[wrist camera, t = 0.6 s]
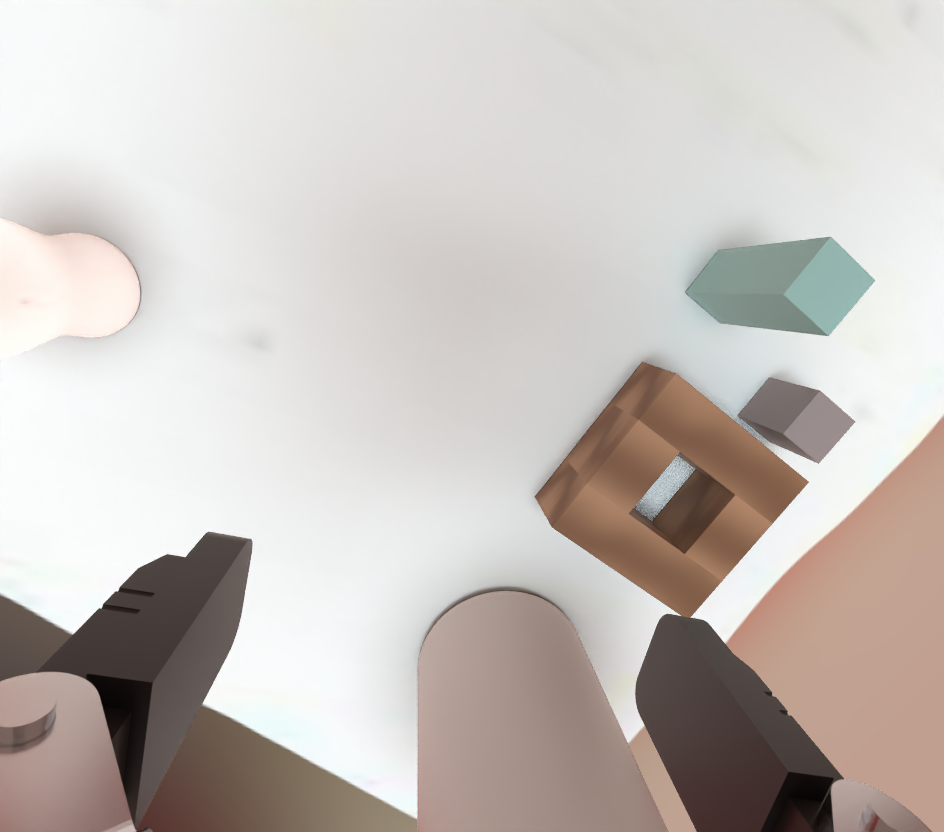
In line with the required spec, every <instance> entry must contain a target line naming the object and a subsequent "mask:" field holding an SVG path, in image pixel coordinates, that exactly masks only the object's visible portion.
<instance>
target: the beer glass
mask: <svg viewBox="0 0 944 832" xmlns="http://www.w3.org/2000/svg"><path fill="white" fill-rule="evenodd" d="M139 302H140V284H139V280H138V276H137V274H136V271H135V269H134V267H133V266H132V264H131V262H130V261H129V260H128V258H127V257H126V256H125V255H124V254H123V253H122V252H121V251H120V250H119V249H118V248H117V247H115V246H114V245H112V244H111V243H109V242H108V241H106V240H104V239H102V238H99V237H97V236H94V235H90V234H85V233H64V234H57V235H51V236H48V235H43V234H41V233H38V232H35V231H33V230H30V229H28V228H26V227H23V226H21V225H19V224H16V223H14V222H11V221H9V220H6V219H4V218H1V217H0V361H1V360H4V359H7V358H10V357H12V356H15V355H18V354H21V353H23V352H26V351H28V350H30V349H33V348H35V347H37V346H39V345H42V344H44V343H46V342H48V341H50V340H52V339H55V338H57V337H60V336H63V335H71V336H78V337H87V338H96V337H104V336H108V335H111V334H114V333H116V332H118V331H119V330H121V329H122V328H124V327H125V326H126V325H127V324H128V323H129V322H130V321H131V320H132V319H133V317H134V316H135V314H136V312H137V309H138V306H139Z"/></svg>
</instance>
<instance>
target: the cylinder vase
mask: <svg viewBox="0 0 944 832" xmlns="http://www.w3.org/2000/svg"><path fill="white" fill-rule="evenodd" d="M418 832H668V830H667V828H666V825H665V823H664V821H663V819H662V817H661V815H660V813H659V810H658V808H657V806H656V804H655V802H654V800H653V797H652V795H651V793H650V791H649V789H648V787H647V784H646V782H645V780H644V778H643V775H642V773H641V771H640V769H639V767H638V765H637V763H636V760H635V758H634V756H633V754H632V752H631V750H630V747H629V745H628V743H627V741H626V739H625V736H624V734H623V732H622V730H621V728H620V726H619V723H618V721H617V719H616V717H615V715H614V713H613V710H612V708H611V706H610V704H609V702H608V699H607V697H606V695H605V693H604V691H603V689H602V686H601V684H600V682H599V680H598V678H597V676H596V673H595V671H594V669H593V667H592V665H591V663H590V660H589V658H588V656H587V654H586V652H585V650H584V647H583V645H582V643H581V641H580V639H579V637H578V634H577V632H576V630H575V628H574V627H573V625H572V624H571V622H570V621H569V619H568V618H567V617H566V616H565V615H564V614H563V613H562V612H561V611H560V610H559V609H558V608H556V607H555V606H554V605H552V604H551V603H549V602H547V601H546V600H544V599H542V598H539V597H537V596H534V595H531V594H527V593H523V592H516V591H496V592H489V593H485V594H481V595H478V596H475V597H472V598H470V599H467V600H465V601H463V602H461V603H460V604H458V605H456V606H455V607H453V608H452V609H450V610H449V611H448V612H447V613H446V614H444V615H443V616H442V617H441V618H440V619H439V620H438V621H437V623H436V624H435V625H434V626H433V628H432V629H431V630H430V632H429V634H428V635H427V637H426V639H425V641H424V643H423V646H422V649H421V652H420V656H419V661H418Z"/></svg>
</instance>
